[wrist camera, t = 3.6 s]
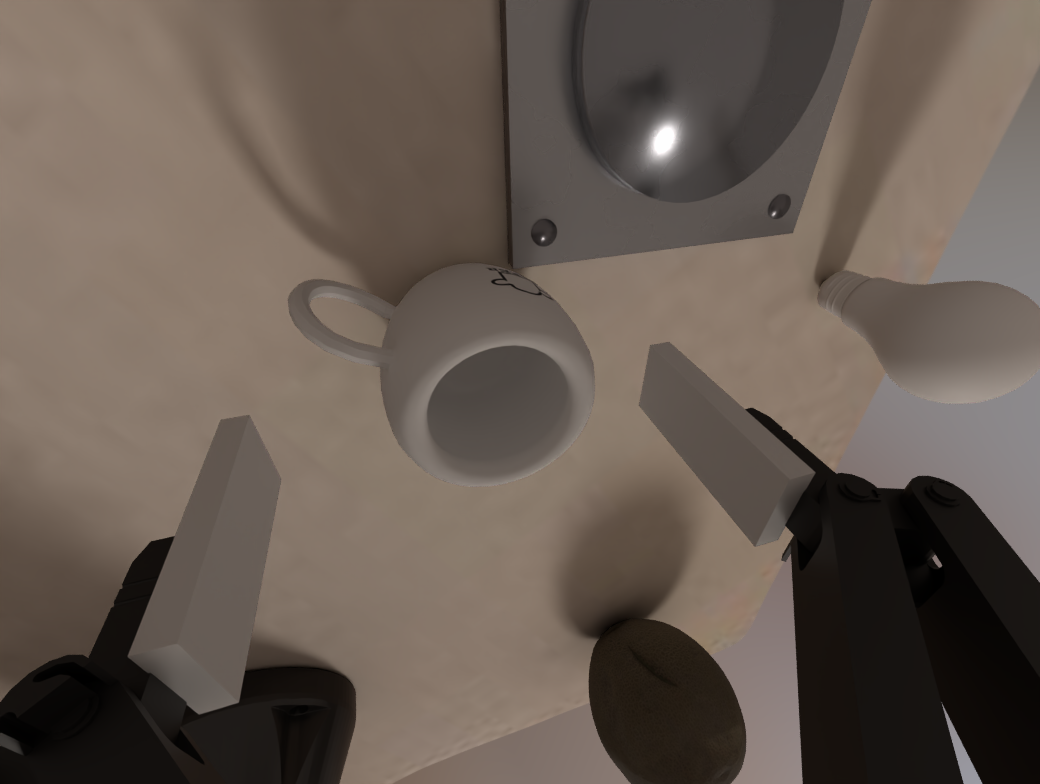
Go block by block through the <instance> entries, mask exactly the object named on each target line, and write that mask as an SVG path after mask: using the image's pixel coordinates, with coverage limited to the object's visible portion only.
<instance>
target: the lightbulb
mask: <svg viewBox="0 0 1040 784" xmlns="http://www.w3.org/2000/svg"><path fill="white" fill-rule="evenodd" d="M817 300H818V304H819V305H820V306H821V307H822V308H824V309H826V310H827V311H828V312H830V313H832V314H833V315H835V316H838V317H839V318H841V319H842V322H843V323H844V324H845V325H846V326H847V327H849V328H851V329H852V330H854V331H856V332H857V333H858V334H859V335H860V336H862V337H863V338H864V339H865V340H866V341H867V342H868V344H869V345H870V346H871V347H872V348H873V350H874V352H875V354H876V356H877V358H878V360H879V362H880V363H881V365H882V366H883V368H884V370H885V371H886V373H887V374H888V376H889V377H890V379H892V380H893V381H894V382H895V383H896V384H897V385H898V386H899V387H901V388H902V389H904V390H906V391H907V392H909V393H911V394H912V395H914V396H917V397H920V398H923V399H926V400H930V401H935V402H939V403H947V404H948V403H949V404H966V403H976V402H982V401H986V400H989V399H993V398H996V397H999V396H1001V395H1004V394H1006V393H1008V392H1010V391H1013V390H1015V389H1016V388H1018V387H1020V386H1021V385H1023V384H1024V383H1025V382H1027V381H1028V380H1029V379H1030V378H1031V377H1032V376H1033V375H1034V374H1035V373H1036V372H1037V371H1038V370H1039V369H1040V308H1039V306H1038V305H1037V304H1036V303H1035V302H1033V301H1032V300H1031V299H1030V298H1029V297H1027V296H1026V295H1024V294H1022V293H1020V292H1019V291H1017V290H1015V289H1012V288H1010V287H1007V286H1004V285H1001V284H998V283H990V282H983V281H961V282H944V283H936V284H927V285H921V284H907V283H901V282H895V281H892V280H889V279H885V278H870V277H868V276H863V275H861V274H857V273H855V272H851V271H848V270H843V271H839V272H837V273H835V274H833V275H831V276H830V277H829V278H828V279H826V280H825V281H824V282H823V283H822V284H821V286H820V290H819V292H818V297H817Z"/></svg>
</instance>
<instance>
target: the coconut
mask: <svg viewBox="0 0 1040 784" xmlns="http://www.w3.org/2000/svg"><path fill="white" fill-rule="evenodd" d="M589 698H590V706H591V711H592V715H593V719H594V722H595V726H596V729H597V732H598V735H599V737H600V740H601V742H602V744H603V746H604V748H605V750H606V751H607V753H608V755H609V756H610V758H611V759H612V760H613V762H614V763H615V764H616V766H617V767H618V768H619V769H620V770H621V772H622V773H623V774H624V776H625V777H626V778H627V779H628V781H629V782H630V783H631V784H731V783H732V781H733V780H734V779H735V778H736V776H737V775H738V774H739V772H740V770H741V768H742V765H743V762H744V757H745V752H746V729H745V723H744V719H743V716H742V712H741V709H740V706H739V703H738V700H737V698H736V695H735V693H734V690H733V688H732V686H731V684H730V682H729V681H728V679H727V677H726V676H725V674H724V672H723V671H722V669H721V668H720V667H719V665H718V664H717V663H716V661H715V660H714V659H713V658H712V657H711V656H710V655H709V653H708V652H707V651H706V650H705V649H704V648H703V647H702V646H700V645H699V644H698V643H697V642H696V641H695V640H694V639H692V638H691V637H689V636H688V635H687V634H685V633H684V632H682V631H681V630H679V629H677V628H675V627H673V626H671V625H669V624H666V623H663V622H660V621H656V620H649V619H628V620H625V621H622V622H619V623H617V624H616V625H614V626H612V627H611V628H609V629H608V630H607V631H606V632H605V633H604V634H603V635H602V636H601V637H600V638H599V640H598V641H597V643H596V644H595V647H594V649H593V653H592V657H591V662H590V669H589Z"/></svg>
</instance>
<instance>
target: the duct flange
mask: <svg viewBox="0 0 1040 784" xmlns="http://www.w3.org/2000/svg"><path fill="white" fill-rule="evenodd" d="M871 1H872V0H500V24H501V53H502V83H503V113H504V142H505V172H506V201H507V231H508V260H509V264H510V266H511V267H512V268H513V269H517V268H524V267H532V266H540V265H548V264H556V263H563V262H571V261H579V260H587V259H595V258H602V257H610V256H618V255H626V254H633V253H641V252H649V251H657V250H665V249H672V248H680V247H688V246H696V245H704V244H711V243H719V242H727V241H735V240H743V239H750V238H758V237H766V236H774V235H781V234H789V233H793V231H794V228H795V225H796V222H797V219H798V216H799V213H800V210H801V207H802V204H803V201H804V198H805V196H806V193H807V190H808V187H809V184H810V181H811V178H812V175H813V172H814V169H815V166H816V163H817V160H818V157H819V154H820V151H821V148H822V145H823V142H824V140H825V137H826V134H827V131H828V128H829V125H830V122H831V119H832V116H833V113H834V110H835V107H836V104H837V101H838V98H839V95H840V92H841V89H842V86H843V84H844V81H845V78H846V75H847V72H848V69H849V66H850V63H851V60H852V57H853V54H854V51H855V48H856V45H857V42H858V39H859V36H860V33H861V30H862V28H863V25H864V22H865V19H866V16H867V13H868V10H869V7H870V4H871Z"/></svg>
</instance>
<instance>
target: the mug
mask: <svg viewBox="0 0 1040 784" xmlns="http://www.w3.org/2000/svg"><path fill="white" fill-rule="evenodd" d="M319 297H331V298H337V299H342V300H346V301H349V302H352V303H355V304H357V305H360V306H362V307H364V308H367V309H369V310H371V311H373V312H374V313H376V314H378V315H380V316H381V317H383V318H388V319H390V321H389V323H388V327H387V330H386V333H385V336H384V340H383V345H382V348H380V347H376V346H371V345H367V344H362V343H358V342H354V341H352V340H350V339H347V338H345V337H343V336H341V335H338V334H336V333H334V332H333V331H332V330H330V329H329V328H327V327H326V326H325V325H323V324H322V323H321V322H320V321H319V319H318V318H317V317H316V316H315V315H314V314H313V312H312V310H311V308H310V306H309V305H310V302H311V300H313V299H315V298H319ZM288 307H289V313H290V316H291V318H292V320H293V322H294V324H295V326H296V327H297V328H298V329H299V330H300V331H301V333H302V334H303V335H304V336H305V337H306V338H307V339H309V340H310V341H312V342H313V343H314V344H316V345H317V346H319V347H320V348H322V349H323V350H325V351H326V352H329V353H331V354H334V355H336V356H339V357H342V358H344V359H347V360H349V361H352V362H355V363H360V364H366V365H371V366H376V367H380V378H381V391H382V396H383V402H384V406H385V410H386V414H387V417H388V420H389V423H390V426H391V428H392V431H393V434H394V436H395V438H396V439H397V441H398V443H399V445H400V446H401V448H402V449H403V450H404V451H405V453H406V454H407V455H408V456H409V457H410V458H411V459H412V460H413V461H414V462H415V463H416V464H417V465H418V466H420V467H421V468H422V469H423V470H424V471H426V472H427V473H429V474H431V475H432V476H434V477H436V478H438V479H440V480H443V481H445V482H448V483H452V484H456V485H460V486H470V487H488V486H495V485H502V484H506V483H510V482H513V481H517V480H519V479H522V478H525V477H527V476H529V475H531V474H533V473H535V472H537V471H539V470H541V469H543V468H544V467H546V466H547V465H549V464H551V463H552V462H553V461H554V460H556V459H557V458H558V457H559V456H561V455H562V454H563V453H564V452H565V451H566V450H567V449H568V448H569V447H570V446H571V445H572V444H573V443H574V441H575V440H576V439H577V438H578V436H579V435H580V433H581V432H582V430H583V428H584V427H585V425H586V423H587V421H588V418H589V416H590V414H591V410H592V406H593V402H594V395H595V376H594V366H593V361H592V358H591V355H590V351H589V349H588V347H587V346H586V344H585V342H584V340H583V338H582V336H581V334H580V332H579V330H578V329H577V327H576V325H575V324H574V322H573V321H572V320H571V318H570V317H569V316H568V315H567V313H566V312H565V311H564V310H563V308H562V307H561V306H560V305H559V304H558V303H557V302H556V301H555V300H554V299H553V298H552V297H551V296H550V295H549V294H548V293H547V292H545V291H544V290H543V289H542V288H541V287H539V286H538V285H537V284H535V283H534V282H532V281H531V280H529V279H527V278H525V277H524V276H522V275H520V274H518V273H516V272H513V271H510V270H508V269H505V268H502V267H499V266H494V265H488V264H482V263H464V264H456V265H452V266H448V267H445V268H442V269H439V270H437V271H435V272H433V273H431V274H429V275H428V276H426V277H425V278H423V279H422V280H420V281H419V282H417V283H416V284H415V285H414V286H413V287H412V288H411V289H410V290H409V291H408V292H407V293H406V295H405V296H404V297H403V299H402V300H401V301H400V303H399V304H398V306H393V305H391V304H390V303H388V302H386V301H384V300H382V299H381V298H379V297H377V296H375V295H373V294H371V293H368V292H366V291H364V290H362V289H359V288H356V287H353V286H350V285H347V284H343V283H339V282H335V281H330V280H323V279H313V280H308V281H304V282H302V283H301V284H299V285H298V286H297V287H296V288H295V289H294V290H293V291H292V292H291V293H290V295H289V297H288Z"/></svg>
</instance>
